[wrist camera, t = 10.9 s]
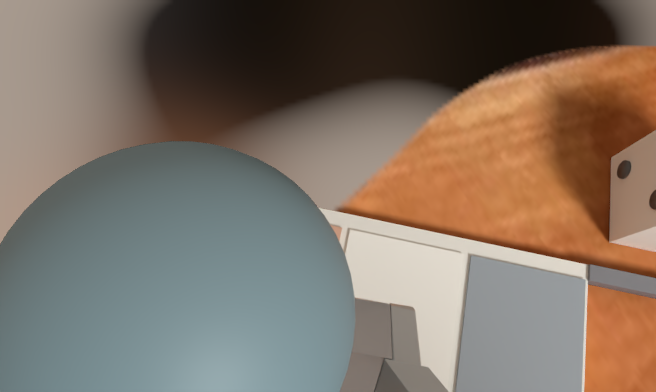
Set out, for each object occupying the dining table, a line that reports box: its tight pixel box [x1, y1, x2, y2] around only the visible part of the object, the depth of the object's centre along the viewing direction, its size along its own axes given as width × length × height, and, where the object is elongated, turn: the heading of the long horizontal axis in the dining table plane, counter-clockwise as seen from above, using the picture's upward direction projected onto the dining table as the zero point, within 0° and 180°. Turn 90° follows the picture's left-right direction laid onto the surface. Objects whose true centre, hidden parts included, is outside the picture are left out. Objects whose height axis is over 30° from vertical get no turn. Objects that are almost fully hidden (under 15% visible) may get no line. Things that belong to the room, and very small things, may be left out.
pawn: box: [0, 141, 355, 392], centre depth 10 cm, size 5×5×13 cm
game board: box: [319, 208, 656, 392], centre depth 27 cm, size 15×32×1 cm, turn 78°
